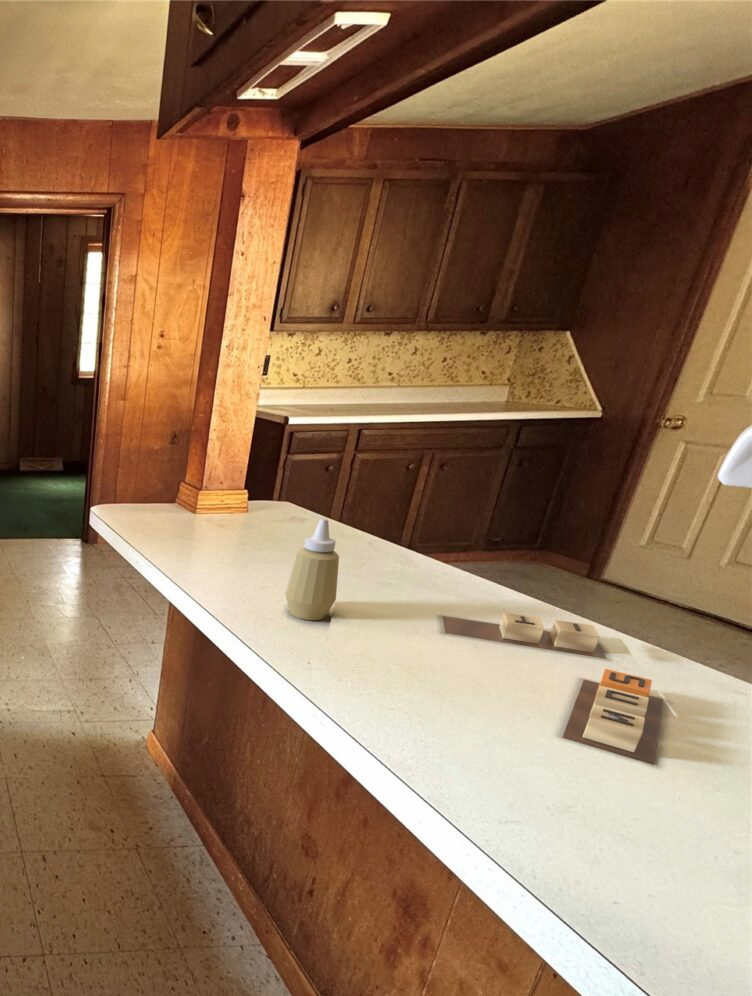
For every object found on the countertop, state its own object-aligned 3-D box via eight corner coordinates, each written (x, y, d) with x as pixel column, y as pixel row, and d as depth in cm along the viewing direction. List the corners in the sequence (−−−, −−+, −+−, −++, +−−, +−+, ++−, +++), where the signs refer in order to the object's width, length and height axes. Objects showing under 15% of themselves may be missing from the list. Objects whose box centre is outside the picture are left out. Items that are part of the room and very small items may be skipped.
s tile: (598, 686, 92) (605, 667, 91) (644, 697, 89) (652, 678, 88) (594, 698, 89) (601, 679, 88) (641, 711, 86) (650, 691, 85)
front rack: (581, 685, 94) (590, 660, 93) (660, 705, 89) (671, 679, 88) (560, 742, 82) (570, 715, 81) (650, 770, 77) (663, 741, 75)
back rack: (592, 644, 106) (600, 621, 104) (604, 664, 100) (613, 641, 98) (441, 620, 116) (446, 600, 114) (443, 638, 110) (449, 616, 108)
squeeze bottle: (275, 606, 124) (290, 513, 117) (319, 606, 124) (336, 512, 117) (294, 624, 117) (311, 526, 110) (340, 623, 116) (360, 525, 110)
